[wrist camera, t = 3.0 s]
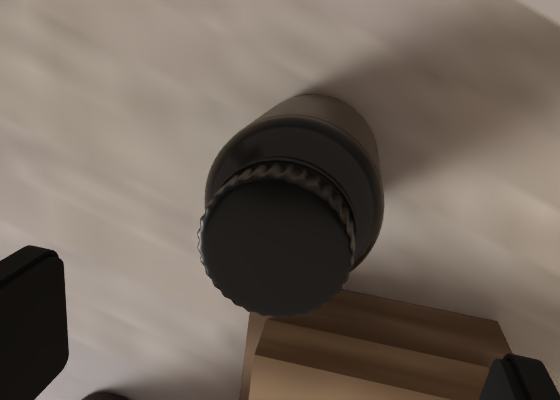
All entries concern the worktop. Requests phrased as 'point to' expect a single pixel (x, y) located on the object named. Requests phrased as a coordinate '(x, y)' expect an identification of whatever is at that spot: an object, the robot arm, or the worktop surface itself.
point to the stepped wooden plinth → (369, 353)
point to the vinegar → (103, 397)
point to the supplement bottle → (292, 206)
